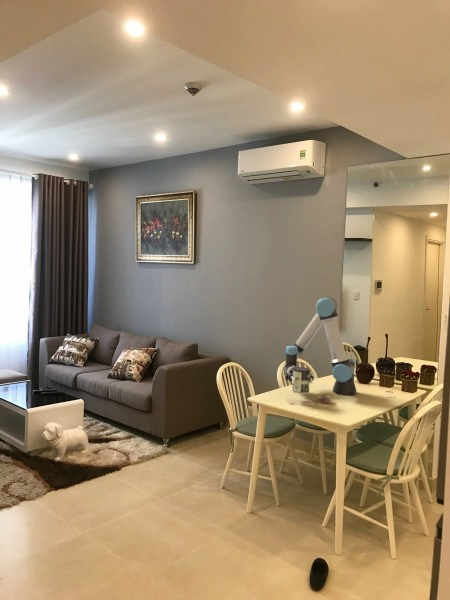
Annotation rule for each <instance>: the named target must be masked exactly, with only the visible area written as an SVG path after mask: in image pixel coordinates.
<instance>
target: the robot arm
mask: <svg viewBox="0 0 450 600" xmlns="http://www.w3.org/2000/svg"><path fill="white" fill-rule="evenodd" d="M337 309H338V303H337V301H336V300H335V298H333V297H331V296H326V297H323V298H320V299H319V300H318V301H317V302H316V304H315V312H316V313H315V315H314V316H313V318H311V321H310V322H308V325H307V326H306V327H305V329H304V330H303V332H302V333H301V334H300V335H299V337H298V339H297V340H296V341H295V343H294V344H293V345H287V346H286V347H285V363H284V366H283V371H284V372H285V381H288V382H289V383H290V382H291V383H292V384H293V383H295V379H294V378H293V368H295V367H298V358H299V357H300V356H302V355H303V353H304V351H305V350H306V348H307V347H308V345H309V344H310V342H311V341H312V340H313V338H315V336H316V334H317V333H318V332H319V330H320V329H321V327H322V326H323V327H324V331H325V335H326V340H327V344H328V347H329V351H330V353H331V361H330V364H331V368H332V371H331V372H332V377H333V378H334V379H335V382H334V384H333V387H332V392H333V393H335V394H338V395H343V396H353V395H356V394H357V387H356V384H355V371H356V370H355V364H356V360H355V359H354V358H350V357H348V356H346V352H345V347H344V343H343V340H342V336H341V332H340V327H339V324H338V321H337V320H338V317H339V315H338V310H337ZM314 377H315V376H314V375H311V374H310V381H309V384H310V385H311V384H313V382H314V380H315V379H314Z"/></svg>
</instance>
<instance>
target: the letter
mask: <svg viewBox="0 0 450 600" xmlns="http://www.w3.org/2000/svg"><path fill="white" fill-rule="evenodd" d="M285 401H286V402H287V404H288V405H289V406H317V405H316V403H315V402H314V401H313V400H312V399H285Z"/></svg>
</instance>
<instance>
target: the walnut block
mask: <svg viewBox="0 0 450 600" xmlns="http://www.w3.org/2000/svg"><path fill="white" fill-rule="evenodd" d="M317 397H318V398H317V400H318V401H317V403H318V404H322V405H331V395H325V394H318V396H317Z"/></svg>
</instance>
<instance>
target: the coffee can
mask: <svg viewBox="0 0 450 600" xmlns="http://www.w3.org/2000/svg"><path fill="white" fill-rule="evenodd" d="M310 375H311V369H310V368H308V367H303V366H301V367H300V366H297V367H295V368H293V378H294V379H295V383H293V382H292V390H291V392H292V393H295V394H297V395H298V394H300V395H301V394H302V395H303V394H304V395H306V394H309V393H310V382H309V381H310Z"/></svg>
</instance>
